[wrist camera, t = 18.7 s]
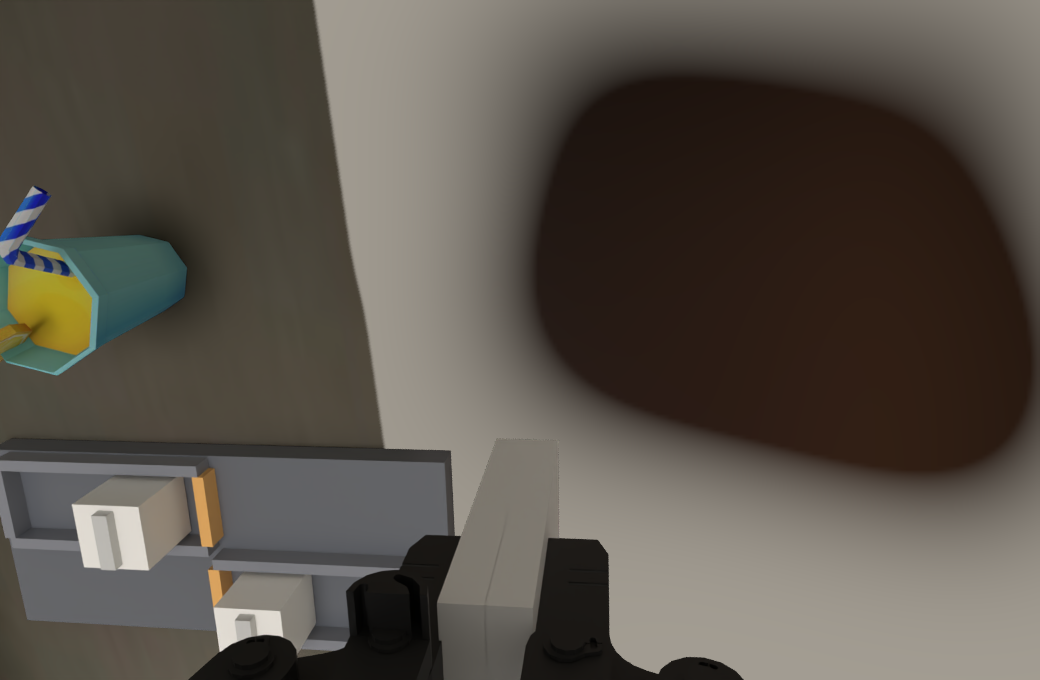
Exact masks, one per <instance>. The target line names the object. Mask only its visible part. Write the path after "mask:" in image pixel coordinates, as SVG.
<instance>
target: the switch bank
mask: <svg viewBox="0 0 1040 680" xmlns="http://www.w3.org/2000/svg"><path fill="white" fill-rule="evenodd" d="M115 475H136V476H166V477H183V478H184V485H185V492H186V498H187V505H188V512H189V518H190V525H191V532H190V533H188V534H187V535H186V536H185V537H184V538H183V539H182V540H181V541H180V542H179V543H178V544H177V545H176V546H175V547H174V548H172V549H171V550H170V551H169V552H168V553H167V554H166V555H165V556H164V557H163V558H162V559H161V560H160V561H159V562H157V563H156V564H155V565H154V566H153V567H152V568H151V569H150V570H129V569H117V570H116V571H115V570H101V568H88V567H84V564H83V559H82V554H81V549H80V544H79V539H78V534H77V529H76V524H75V518H74V513H73V508H72V504H73V503H75V502H76V501H78V500H79V499H81V498H82V497H83V496H85V495H86V494H88V493H89V492H91V491H92V490H94V489H95V488H97V487H98V486H100V485H101V484H103V483H104V482H106V481H107V480H109V479H110V478H112V477H113V476H115ZM0 516H1V521H2V525H3V529H4V534H5V538H9V539H10V544H11V548H12V553H13V557H14V562H15V566H16V571H17V575H18V580H19V584H20V589H21V593H22V598H23V602H24V607H25V611H26V615H27V620H37V621H54V622H72V623H89V624H106V625H124V626H141V627H158V628H176V629H193V630H210V631H217V629H216V622H215V615H214V608H213V607H214V606H215V605H216V604H217V603H218V602H219V600H220V599H221V598H222V597H223V596H224V594H225V593H226V592H227V591H228V590H229V588H230V587H231V586H232V585H233V584H234V583H235V581H236V580H237V579H238V578H239V577H240V575H241V574H242V573H243V572H264V573H285V574H306V575H311V577H312V586H313V596H314V605H315V615H316V624H315V626H314V627H313V629H312V631H311V632H310V634H309V636H308V637H307V639H306V641H305V642H304V644H303V646H302V647H301V649H313V650H330V651H336V650H339V649H342V648H344V647H345V645H346V643H347V641H348V639H349V637H350V631H349V620H348V609H347V599H346V591H347V589H348V588H349V587H350V586H351V585H352V584H353V583H354V582H355V581H357V580H359V579H361V578H363V577H364V576H366V575H369V574H372V573H376V572H379V571H386V570H399V569H400V567H401V566H402V562H403V560H404V558H405V556H406V554H407V552H408V550H409V548H410V547H411V546H412V545H414V544H415V543H416V542H417V541H419V540H420V539H421V538H422V537H424V536H425V535H446V536H455V532H454V511H453V491H452V469H451V451H445V450H409V449H408V450H407V449H373V448H336V447H300V446H263V445H227V444H190V443H154V442H117V441H81V440H44V439H10V440H8V441H6V442H4V443H1V444H0Z"/></svg>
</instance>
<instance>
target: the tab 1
mask: <svg viewBox="0 0 1040 680" xmlns="http://www.w3.org/2000/svg"><path fill="white" fill-rule="evenodd" d="M72 508H73V513H74V518H75V524H76V529H77V534H78V539H79V544H80V549H81V554H82V559H83V564H84V567H88V568H101V570H115V571H116V570H117V569H129V570H150V569H151V568H152V567H153V566H154V565H155V564H156V563H157V562H159V561H160V560H161V559H162V558H163V557H164V556H165V555H166V554H167V553H168V552H169V551H170V550H171V549H172V548H174V547H175V546H176V545H177V544H178V543H179V542H180V541H181V540H182V539H183V538H184V537H185V536H186V535H187V534H188V533H190V532H191V525H190V518H189V512H188V505H187V498H186V492H185V485H184V478H183V477H166V476H136V475H115V476H113V477H112V478H110V479H109V480H107V481H106V482H104V483H103V484H101V485H100V486H98V487H97V488H95V489H94V490H92V491H91V492H89V493H88V494H86V495H85V496H83V497H82V498H81V499H79V500H78V501H76V502H75V503H73V504H72Z"/></svg>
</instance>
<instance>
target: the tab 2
mask: <svg viewBox="0 0 1040 680" xmlns="http://www.w3.org/2000/svg"><path fill="white" fill-rule="evenodd" d="M213 608H214V615H215V622H216V629H217V635H218V642H219V649H220V652H221V651H222V650H224V649H225V648H226V647H228V646H229V645H231V644H233V643H235V642H238V641H240V640H243V639H245V638H248V637H254V636H260V635H275V636H281V637H283V638H285V639H287V640H289V641H291V642H292V644H293V645H294V647H295V648H296V650H297V654H298V652H299V651H300V649H301V647H302V646H303V644H304V642H305V641H306V639H307V637H308V636H309V634H310V632H311V631H312V629H313V627H314V626H315V624H316V615H315V605H314V596H313V586H312V577H311V575H306V574H285V573H264V572H243V573H242V574H241V575H240V577H239V578H238V579H237V580H236V581H235V583H234V584H233V585H232V586H231V587H230V588H229V590H228V591H227V592H226V593H225V594H224V596H223V597H222V598H221V599H220V600H219V602H218V603H217V604H216V605H215V606H214V607H213Z"/></svg>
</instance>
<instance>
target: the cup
mask: <svg viewBox="0 0 1040 680" xmlns="http://www.w3.org/2000/svg"><path fill="white" fill-rule="evenodd" d="M50 197H51V195H50V194H49V193H48V192H46V191H45V190H43V189H41V188H39V187H37V186H33V187H32V188H31V190H30V191H29V193H28V195H27V196H26V198H25V199H24V201H23V202H22V204H21V205H20V207H19V209H18V210H17V212H16V213H15V215H14V216H13V218H12V219H11V221H10V223H9V224H8V226H7V227H6V229H5V230H4V232H3V233H2V235H1V237H0V362H1V361H2V360H3V359H4V360H5V361H6V362H7V363H10V364H14V365H18V366H22V367H26V368H30V369H34V370H38V371H42V372H45V373H49V374H53V375H57V376H58V375H59V374H61V373H62V372H64V371H65V370H67V369H69V368H70V367H72V366H73V365H74V364H76V363H77V362H79V361H80V360H82V359H83V358H85V357H86V356H87V355H89V354H90V353H92V352H93V351H95V350H96V349H98V348H99V347H100V346H102V345H103V344H105V343H107V342H109V341H111V340H112V339H114V338H116V337H118V336H120V335H121V334H123V333H125V332H127V331H129V330H131V329H132V328H134V327H136V326H138V325H140V324H142V323H143V322H145V321H147V320H149V319H151V318H153V317H154V316H156V315H158V314H160V313H162V312H163V311H165V310H166V309H168V308H169V307H171V306H172V305H173V304H175V303H176V302H178V301H179V300H181V299H182V298H184V295H185V285H186V274H187V267H186V266H185V264H184V263H183V262H182V260H181V259H180V257H179V256H178V255H177V253H176V252H175V250H174V249H173V248H172V246H171V245H170V243H169V242H167V241H162V240H158V239H154V238H150V237H146V236H142V235H127V236H106V237H86V238H66V239H45V240H40V239H36V238H32V237H28V236H27V235H28V233H29V231H30V230H31V228H32V227H33V225H34V223H35V222H36V220H37V218H38V217H39V215H40V213H41V212H42V210H43V209H44V207H45V205H46V204H47V202H48V200H49V199H50Z"/></svg>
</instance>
